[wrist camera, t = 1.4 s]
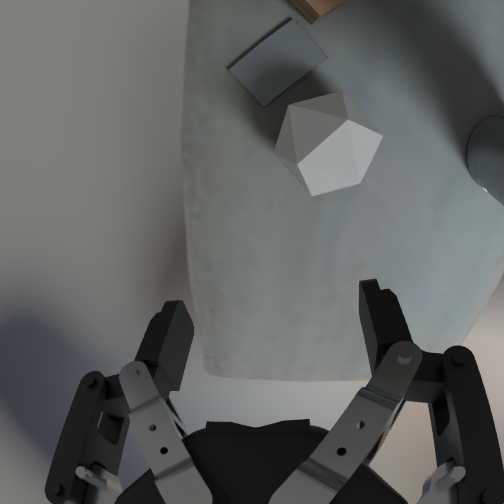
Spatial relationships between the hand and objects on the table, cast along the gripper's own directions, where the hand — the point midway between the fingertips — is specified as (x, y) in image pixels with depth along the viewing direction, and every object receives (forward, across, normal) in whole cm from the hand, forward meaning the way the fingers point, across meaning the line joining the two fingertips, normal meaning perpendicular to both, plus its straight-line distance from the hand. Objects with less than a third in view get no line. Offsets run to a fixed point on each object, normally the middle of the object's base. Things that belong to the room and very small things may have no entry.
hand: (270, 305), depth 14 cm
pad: (+21, -2, -10) cm, 23 cm away
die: (+21, -5, -2) cm, 22 cm away
